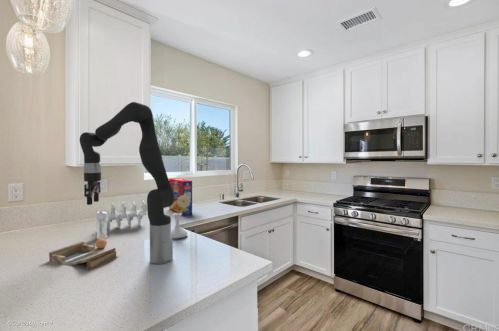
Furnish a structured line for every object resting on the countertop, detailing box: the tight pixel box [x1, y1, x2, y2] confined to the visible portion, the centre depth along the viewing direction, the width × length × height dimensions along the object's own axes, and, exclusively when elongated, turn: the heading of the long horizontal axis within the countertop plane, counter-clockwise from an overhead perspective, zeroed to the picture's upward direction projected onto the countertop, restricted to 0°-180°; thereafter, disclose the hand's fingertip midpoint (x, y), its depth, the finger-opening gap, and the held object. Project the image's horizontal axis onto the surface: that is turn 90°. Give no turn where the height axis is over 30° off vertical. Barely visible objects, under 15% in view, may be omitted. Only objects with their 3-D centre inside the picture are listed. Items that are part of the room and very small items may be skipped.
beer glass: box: [94, 210, 110, 240], centre depth 143 cm, size 7×7×15 cm
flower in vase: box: [171, 195, 190, 239], centre depth 146 cm, size 13×11×25 cm
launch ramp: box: [71, 247, 117, 270], centre depth 111 cm, size 14×12×6 cm
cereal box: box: [168, 177, 193, 217], centre depth 208 cm, size 28×8×28 cm, turn 40°
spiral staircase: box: [108, 200, 148, 231], centre depth 163 cm, size 18×18×25 cm
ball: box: [94, 238, 108, 250], centre depth 127 cm, size 5×5×5 cm
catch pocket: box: [48, 241, 96, 265], centre depth 116 cm, size 9×15×4 cm, turn 160°
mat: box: [62, 250, 119, 272], centre depth 114 cm, size 25×15×1 cm, turn 69°
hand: (93, 203), depth 127 cm, fingers open, 8 cm apart
